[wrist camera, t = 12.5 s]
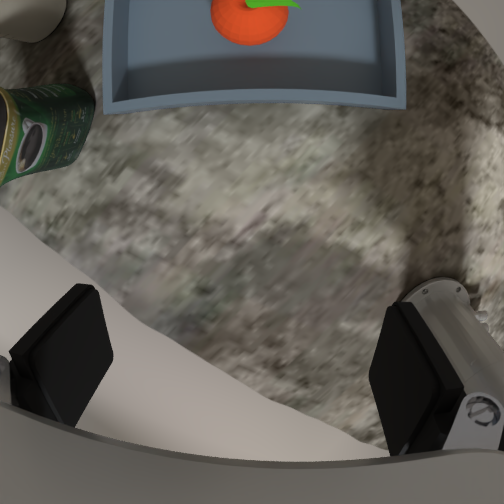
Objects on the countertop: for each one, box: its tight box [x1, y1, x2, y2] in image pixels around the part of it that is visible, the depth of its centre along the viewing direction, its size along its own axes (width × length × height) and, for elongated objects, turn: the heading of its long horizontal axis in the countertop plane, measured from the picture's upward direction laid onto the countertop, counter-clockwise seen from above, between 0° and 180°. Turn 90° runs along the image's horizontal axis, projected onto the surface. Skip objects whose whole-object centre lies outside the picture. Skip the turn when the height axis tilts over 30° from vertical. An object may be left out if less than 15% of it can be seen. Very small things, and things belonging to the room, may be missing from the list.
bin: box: [103, 0, 406, 114], centre depth 24 cm, size 28×18×5 cm, turn 91°
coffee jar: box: [0, 84, 95, 187], centre depth 23 cm, size 10×8×19 cm
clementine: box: [210, 0, 302, 46], centre depth 23 cm, size 8×7×7 cm
